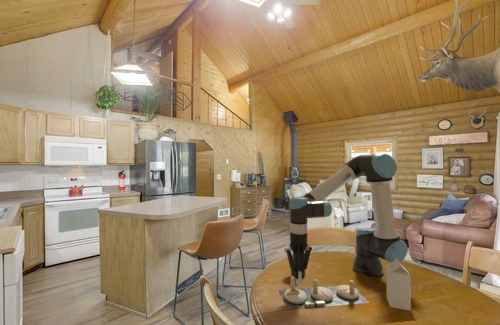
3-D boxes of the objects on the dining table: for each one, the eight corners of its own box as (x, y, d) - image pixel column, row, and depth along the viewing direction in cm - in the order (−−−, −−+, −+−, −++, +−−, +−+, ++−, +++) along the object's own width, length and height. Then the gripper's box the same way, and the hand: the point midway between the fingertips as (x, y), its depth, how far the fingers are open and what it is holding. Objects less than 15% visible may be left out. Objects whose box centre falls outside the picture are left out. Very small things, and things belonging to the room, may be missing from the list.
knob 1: (301, 291, 108) (301, 275, 108) (310, 302, 99) (310, 285, 99) (281, 293, 106) (281, 276, 106) (288, 304, 97) (288, 287, 97)
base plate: (349, 287, 114) (349, 282, 114) (369, 305, 100) (369, 299, 100) (278, 292, 109) (278, 287, 109) (288, 312, 94) (288, 306, 94)
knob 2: (351, 287, 111) (351, 272, 111) (363, 298, 102) (363, 281, 102) (332, 289, 110) (332, 273, 110) (343, 300, 101) (343, 283, 101)
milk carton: (405, 304, 101) (405, 258, 101) (410, 313, 94) (410, 265, 95) (386, 300, 103) (386, 256, 104) (390, 310, 97) (390, 262, 97)
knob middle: (307, 292, 107) (307, 276, 107) (324, 288, 110) (324, 273, 110) (319, 303, 98) (319, 285, 99) (337, 299, 101) (337, 282, 101)
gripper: (306, 228, 112) (306, 279, 112) (281, 231, 108) (281, 283, 108) (315, 233, 105) (315, 287, 105) (289, 235, 101) (289, 292, 101)
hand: (298, 285), depth 106 cm, fingers closed
